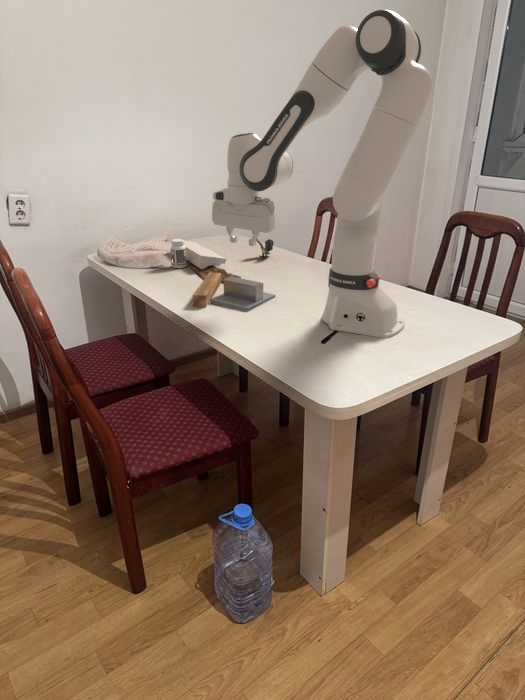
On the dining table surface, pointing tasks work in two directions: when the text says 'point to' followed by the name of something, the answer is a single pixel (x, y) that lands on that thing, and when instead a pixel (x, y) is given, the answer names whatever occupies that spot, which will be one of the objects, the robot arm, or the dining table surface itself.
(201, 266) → the decorative molding
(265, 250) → the eagle figurine
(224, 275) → the wooden fragment
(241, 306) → the ridge board
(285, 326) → the dining table surface
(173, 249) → the pill bottle
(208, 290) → the wood batten
